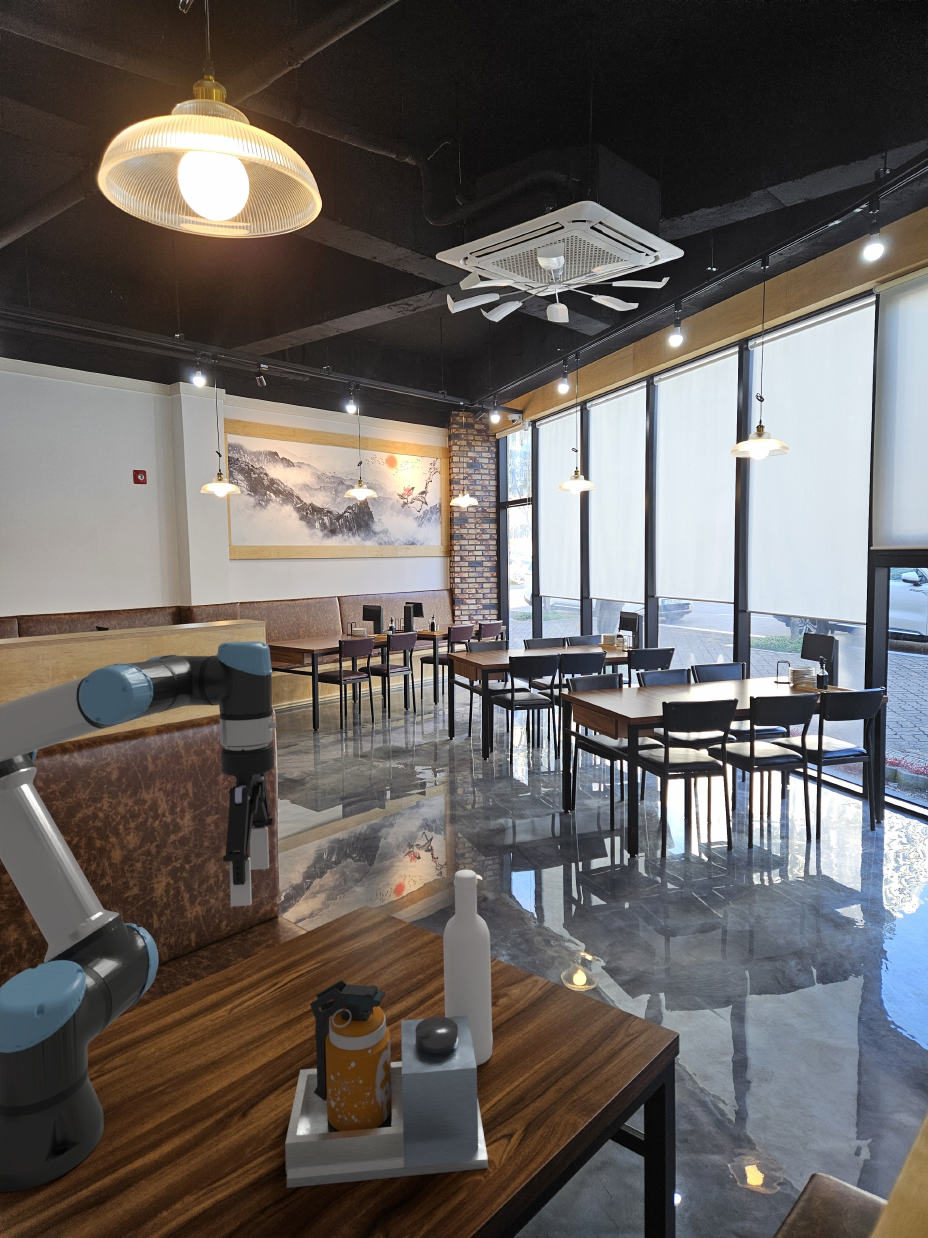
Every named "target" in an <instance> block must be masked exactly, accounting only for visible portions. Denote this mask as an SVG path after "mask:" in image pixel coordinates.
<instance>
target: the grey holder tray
mask: <svg viewBox="0 0 928 1238" xmlns="http://www.w3.org/2000/svg"><path fill="white" fill-rule="evenodd" d="M400 1022H401V1023H400V1024H401V1033H400V1034H401V1036H400V1037H401V1061H392V1062H391V1099H392V1122H391V1125H390V1127H385V1128H374V1129H363V1130H352V1131H341V1132H330V1133H329V1132H328V1123H327V1099H326V1101H324V1100H322V1099H321V1098H320V1097H319V1096H317V1095H316V1094H315V1093H314V1091H315V1089H316V1087H317V1067H316V1068H306V1069H300V1070H299V1075H298V1080H297V1084H296V1088H295V1089H296V1090H295V1094H294V1099H293V1105H292V1109H291V1115H290V1118H289V1124H288V1129H287V1133H286V1139H285V1144H284V1145H285V1147H284V1148H285V1175H286V1188H287V1189H288V1188H289V1189H291V1188H300V1187H307V1186H308V1187H309V1186H319V1185H321V1186H322V1185H331V1184H339V1183H349V1182H351V1183H352V1182H361V1181H369V1180H370V1181H373V1180H380V1179H381V1180H382V1179H389V1178H390V1179H391V1178H402V1177H409V1176H410V1177H411V1176H420V1175H421V1176H423V1175H431V1174H441V1173H442V1174H443V1173H450V1172H451V1173H452V1172H461V1171H474V1170H481V1169H488V1168H489V1160H488V1152H487V1147H486V1141H485V1136H484V1128H483V1121H482V1115H481V1111H480V1110H481V1109H480V1105H479V1099H478V1097H479V1096H478V1070H477V1069H478V1068H477V1067H478V1066H476V1060H475V1055H474V1049H473V1043H472V1037H471V1032H470V1026H469V1020H468V1015H467V1016H454V1017H445V1016H431V1017H426V1018H417V1019H406V1020H405V1019H403V1020H402V1019H401V1021H400Z"/></svg>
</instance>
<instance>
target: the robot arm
mask: <svg viewBox="0 0 928 1238" xmlns="http://www.w3.org/2000/svg"><path fill="white" fill-rule="evenodd" d="M270 649H271V648H270V647H269V645H268V643H265V642H264V641H255V640H254V641H231V642H229V641H228V642H223V643H220V644H219V645H218V648H217V653H216V654H215V655H176V654H169V655H162V656H159V655H158V656H153V657H150V658H148V659H147V660H145V661H139V662H138V661H137V662H130V663H129V662H128V663H123V662H121V663H120V662H119V663H114V664H110V665H107V666H104V667H101V668H97V669H95V670H92V672H90V673H89V674H88V675H86V676H83V677H80V678H77V679H74V680H71V681H67V682H66V683H62V684H58V685H56V686H54V687H51V688H47V689H45V690H44V689H43V690H41V691H38V692H35V693H33V694H30V695H26V696H23V697H20V698H17V699H14V700H11V701H8V702H4V703H2V704H0V861H1V862H2V865H3V866H4V868H5V870H6V871H7V873H8V875H9V877H10V879H11V880H12V882H13V884H14V885H15V887H16V889H17V891H18V893H19V894H20V896H21V898H22V900H23V902H24V903H25V906H26V907H27V908H28V909H27V910H28V911H29V912H30V914H31V916H32V918H33V919H34V921H35V923H36V925H37V927H38V928H39V930H40V932H41V934H42V935H43V937H44V939H45V941H46V942H47V945H48V949H47V951H46V954H45V957H44V959H43V963H40V964H38V965H37V966H36V967H34V968H27V969H24V970H23V971H21V972H20V973H17V974H16V975H14V976H13V977H11V978H10V979H8V980H7V981H5V983H4V984H2V986H0V1192H2V1193H4V1192H5V1193H12V1192H20V1191H25V1190H29V1189H33V1188H36V1187H38V1186H42V1185H45V1184H47V1183H50V1182H52V1181H53V1180H55V1179H58V1178H59V1177H61V1176H63V1175H65V1174H67V1173H68V1172H70V1171H71V1170H73V1169H74V1168H76V1167H77V1166H78V1165H80V1164H81V1163H82V1162H83V1161H84V1160H85V1159H86V1158H88V1157H89V1156H90V1154H91V1153H92V1152H93V1151H94V1150H95V1148H97V1146H98V1144H99V1142H100V1141H101V1138H102V1136H103V1133H104V1124H105V1121H104V1109H103V1107H102V1104H101V1102H100V1100H99V1098H98V1095H97V1093H96V1091H95V1088H94V1086H93V1084H92V1082H91V1080H90V1077H89V1067H88V1066H89V1065H88V1064H89V1063H88V1062H89V1061H88V1046H89V1044H90V1043H91V1042H92V1041H93V1040H94V1039H95V1038H96V1037H97V1036H98V1035H100V1034H101V1033H102V1032H103V1031H104V1030H105V1029H107V1027H109V1026H110V1025H111V1024H112V1023H114V1021H115V1020H117V1019H118V1018H119V1017H120V1016H121V1015H122V1014H123V1013H124V1012H126V1011H127V1010H128V1009H130V1008H131V1007H134V1006H135V1005H136V1004H137V1003H138V1001H140V999H141V998H142V997H143V995H144V994H145V993H146V992H148V990H149V988H151V986H152V985H153V983H154V981H155V978H156V975H157V971H158V969H159V968H158V967H159V952H158V948H157V945H156V942H155V940H154V937H153V936H152V935H151V934H150V933H149V932H148V930H146V929H145V928H144V927H143V926H141V927H140V926H138V924H135V923H132V922H128V923H127V922H126V923H125V922H124V920H123V918H122V917H121V915H120V913H119V912H116V911H111V910H106V909H105V908H104V907H103V905H102V903H101V902H100V900H99V898H98V897H97V895H96V893H95V891H94V890H93V887H92V886H91V884H90V882H89V881H88V879H87V877H86V875H85V874H84V872H83V870H82V868H81V866H80V865H79V863H78V861H77V860H76V857H75V856H74V854H73V852H72V851H71V849H70V847H69V846H68V844H67V841H66V840H65V838H64V836H63V835H62V833H61V831H60V830H59V828H58V826H57V824H56V822H55V821H54V819H53V818H52V815H51V814H50V812H49V810H48V809H47V806H46V805H45V803H44V801H43V800H42V798H41V796H40V794H39V793H38V791H37V789H36V787H35V786H34V778H35V777H36V775H37V772H38V768H37V767H36V766H35V764H34V762H35V761H36V757H37V756H38V755H37V754H38V750H41V749H45V748H47V747H50V746H54V745H57V744H60V743H64V742H66V741H69V740H72V739H75V738H79V737H82V736H85V735H88V734H92V733H94V732H97V731H101V730H105V729H107V728H111V727H115V726H117V725H121V724H124V723H127V722H131V721H134V720H137V719H140V718H143V717H148V716H151V715H155V714H157V713H158V714H159V713H164V712H168V711H170V710H174V709H178V708H181V707H188V706H218V707H219V727H220V728H219V736H220V737H219V739H220V740H219V741H220V742H219V743H220V745H222V746H223V747H222V749H221V750H220V765H221V767H220V768H221V773H223V774H224V775H226V776H233V777H235V785H233V786H232V787H230V788H229V791H228V794H229V804H228V805H229V809H228V820H227V832H226V833H227V834H226V845H225V855H223V856H222V861H223V863H229V886H230V887H229V890H230V895H229V896H230V907H245V906H248V907H249V906H251V905H252V904H253V903H252V901H253V899H252V897H253V896H252V872H251V871H254V870H255V871H256V870H269V868H270V857H269V849H270V848H269V826H273V823H274V821H273V820H274V818H272V817H271V812H270V805H269V797H268V790H267V789H268V788H267V783H266V782H267V781H266V773H269V772H270V771H272V770H273V768H274V767H275V766H274V765H275V760H274V759H275V758H274V756H275V755H274V754H275V753H274V746H273V744H271V742H272V741H273V739H274V735H273V731H274V730H273V729H276V728H277V725H278V724H277V722H276V721H272V720H273V709H272V707H273V704H272V703H273V701H272V700H273V699H272V695H273V694H272V693H273V692H272V690H273V686H272V683H273V682H272V680H273V679H272V675H273V669H272V663H271V661H272V660H271V653H270V652H271V651H270ZM270 817H271V818H270ZM249 852H250V853H249Z"/></svg>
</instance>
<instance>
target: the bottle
mask: <svg viewBox="0 0 928 1238" xmlns="http://www.w3.org/2000/svg"><path fill="white" fill-rule="evenodd" d="M477 885H478V879H477V873H476V872H475V871H474V870H471V869H461V870H458V871H456V872H455V873H454V880H453V886H454V905H455V906H454V911H455V914H454V915H453V916H452V917H451V918H449V919H448V921H447V922H446V925H445V928H444V931H443V938H442V939H443V941H442V942H443V975H444V976H443V977H444V978H443V980H444V981H443V983H444V984H443V985H444V987H443V988H444V1017H454V1016H467V1015H468V1020H469V1026H470V1032H471V1037H472V1043H473V1049H474V1055H475V1060H476V1066H477V1067H478V1066H480V1065H482V1064H485V1063H486V1062H487V1061H489V1060H490V1059H491V1057H492V1054H493V1046H494V1045H493V1044H494V1040H493V1039H494V1038H493V1022H492V1020H493V1019H492V1016H493V1015H492V971H491V967H492V966H491V965H492V964H491V934H490V931H489V930H490V929H489V928H488V924H487V921H486V920H484V919H483V918H482V916H480V915H479V914H478V910H477V909H478V906H477V905H478V900H477V898H478V897H477V896H478V895H477V894H478V893H477V892H478V891H477V890H478V889H477Z"/></svg>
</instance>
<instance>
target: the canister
mask: <svg viewBox="0 0 928 1238" xmlns="http://www.w3.org/2000/svg"><path fill="white" fill-rule="evenodd" d="M385 996H386V992H385V991H384V990H382V989H379V990H378V986H377V985H372V984H371V985H361V984H349V983H346V982H345V981H344V980H342V979H341V980H339V981H338V982H336V983H334V984H333V985H331V986H329V987H328V988H326V989H324V990H322V991H321V992H319V993H317V994H316V1000H314V1001H311V1002H310V1003H309V1005H310V1008H311V1010H312V1014H313V1017H314V1019H315V1027H314V1035H315V1039H314V1040H315V1045H316V1046H315V1048H316V1054H315V1055H316V1068H317V1087H316V1089H315V1091H314V1093H315V1094H316V1095H317V1096H319V1097H320V1098H321V1099H322V1100H324V1101H326V1099H327V1123H328V1132H329V1133H330V1132H341V1131H352V1130H363V1129H374V1128H385V1127H390V1125H391V1122H392V1099H391V1061H392V1060H391V1058H392V1057H391V1033H390V1029H389V1028H388V1026H387V1023H386V1021H387V1020H386V1015H385V1012H384V1011H383V1009H382V1008H381V1007H380V1005H381V1002H382V1001H383V999H384V998H385Z"/></svg>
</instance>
